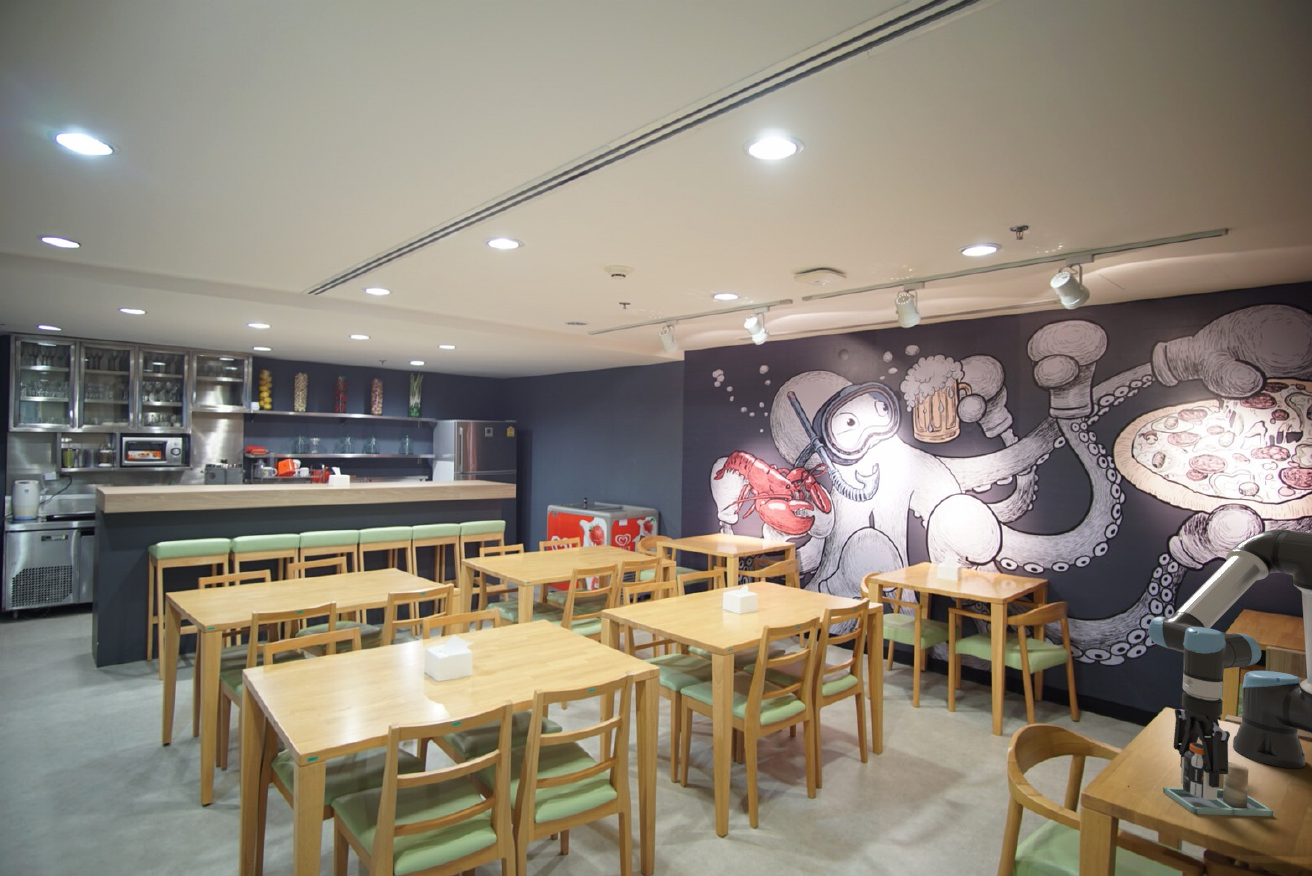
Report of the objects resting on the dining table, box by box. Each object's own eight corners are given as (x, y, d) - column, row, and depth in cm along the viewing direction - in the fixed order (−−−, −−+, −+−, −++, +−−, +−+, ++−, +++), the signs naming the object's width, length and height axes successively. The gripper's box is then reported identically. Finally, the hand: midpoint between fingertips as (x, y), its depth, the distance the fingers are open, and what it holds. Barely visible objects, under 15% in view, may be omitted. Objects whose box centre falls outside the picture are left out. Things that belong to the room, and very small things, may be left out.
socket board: (1237, 798, 168) (1238, 789, 168) (1273, 820, 159) (1273, 810, 159) (1162, 796, 168) (1163, 787, 168) (1193, 818, 159) (1194, 808, 159)
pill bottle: (1204, 801, 160) (1206, 753, 159) (1176, 789, 165) (1178, 742, 165) (1220, 796, 162) (1222, 749, 162) (1192, 784, 167) (1194, 738, 167)
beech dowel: (1236, 799, 166) (1237, 762, 166) (1252, 809, 161) (1253, 771, 161) (1218, 798, 166) (1219, 761, 166) (1233, 808, 161) (1234, 770, 161)
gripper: (1157, 679, 173) (1153, 771, 173) (1219, 710, 154) (1215, 813, 154) (1186, 680, 173) (1183, 772, 173) (1252, 711, 154) (1248, 813, 154)
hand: (1198, 791), depth 164 cm, fingers closed on pill bottle, 6 cm apart
